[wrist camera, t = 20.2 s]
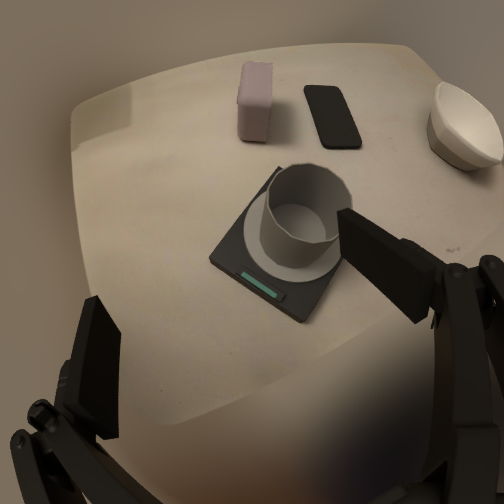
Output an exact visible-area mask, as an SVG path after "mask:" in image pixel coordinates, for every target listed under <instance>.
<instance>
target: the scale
mask: <svg viewBox="0 0 504 504" xmlns="http://www.w3.org/2000/svg"><path fill="white" fill-rule="evenodd" d="M282 169H283V168H281V167H279V166H278V168H277V169H276V170H275V171H274V173H273V174H272V175H271V176H270V178H269V179H268V180H267V181H266V183H265V184H264V185H263V187H262V188H261V189H260V190H259V192H258V193H257V194H256V196H255V197H254V198H253V199H252V201H251V202H250V203H249V205H248V206H247V207H246V209H245V210H244V211H243V212H242V214H241V215H240V216H239V218H238V219H237V220H236V222H235V223H234V224H233V226H232V227H231V228H230V230H229V231H228V232H227V233H226V235H225V236H224V237H223V239H222V240H221V241H220V243H219V244H218V245H217V247H216V248H215V249H214V251H213V252H212V253H211V255H210V256H209V259H210V262H211V264H213V265H214V266H216V267H217V268H219V269H220V270H221V271H223V272H224V273H226V274H227V275H229V276H230V277H232V278H233V279H235V280H236V281H237V282H239V283H240V284H242V285H243V286H245V287H246V288H248V289H249V290H251V291H252V292H254V293H255V294H257V295H258V296H260V297H261V298H263V299H264V300H266V301H267V302H269V303H270V304H272V305H273V306H275V307H276V308H278V309H279V310H281V311H282V312H284V313H285V314H287V315H288V316H290V317H291V318H293V319H294V320H296V321H297V322H299V323H302V322H305V321H306V319H307V318H308V316H309V315H310V313H311V311H312V310H313V308H314V307H315V305H316V303H317V302H318V300H319V298H320V297H321V295H322V294H323V292H324V290H325V289H326V287H327V285H328V284H329V282H330V280H331V279H332V277H333V275H334V273H335V272H336V270H337V268H338V267H339V265H340V263H341V261H342V260H343V257H342V256H341V255H340V244H339V238H338V239H337V240H336V241H335V242H334V243H333V244H332V245H331V246H330V247H329V248H328V249H327V250H326V251H325V252H324V253H323V254H322V255H321V256H320V257H319V258H318V259H317V260H316V261H314V262H313V263H312V264H310V265H309V266H307V267H302V268H296V269H290V268H287V267H283V266H280V265H277V264H276V263H275V262H274V261H272V260H271V259H270V258H269V257H268V256H267V255H265V252H264V250H263V248H262V245H261V243H260V241H259V237H260V224H261V219H262V214H263V209H264V204H265V198H266V193H267V188H268V186H269V184H270V183H271V181H272V180H273V178H274V176H275V175H276V173H277V172H279V171H281V170H282Z"/></svg>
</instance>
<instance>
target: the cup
mask: <svg viewBox="0 0 504 504" xmlns="http://www.w3.org/2000/svg"><path fill="white" fill-rule="evenodd" d="M345 208H350V209H352V210H353V203H352V195H351V193H350V192H349V190H348V188H347V186H346V185H345V183H344V181H343V180H342V179H341V178H340V177H339V176H337V175H336V174H335V173H334V172H332V171H331V170H330V169H328V168H326V167H323V166H320V165H316V164H313V163H298V164H291V165H289V166H288V167H286V168H284V169H282V170H281V171H279V172H277V173H276V175H275V176H274V178H273V180H272V181H271V183H270V184H269V186H268V188H267V193H266V198H265V204H264V209H263V214H262V219H261V224H260V237H259V241H260V243H261V245H262V248H263V250H264V252H265V255H267V256H268V257H269V258H270V259H271V260H272V261H274V262H275V263H276V264H277V265H280V266H283V267H287V268H290V269H296V268H302V267H307V266H309V265H310V264H312V263H313V262H314V261H316V260H317V259H318V258H319V257H320V256H321V255H322V254H323V253H324V252H325V251H326V250H327V249H328V248H329V247H330V246H331V245H332V244H333V243H334V242H335V241H336V240H337V239H338V238H339V232H338V221H337V211H339V210H342V209H345Z"/></svg>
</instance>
